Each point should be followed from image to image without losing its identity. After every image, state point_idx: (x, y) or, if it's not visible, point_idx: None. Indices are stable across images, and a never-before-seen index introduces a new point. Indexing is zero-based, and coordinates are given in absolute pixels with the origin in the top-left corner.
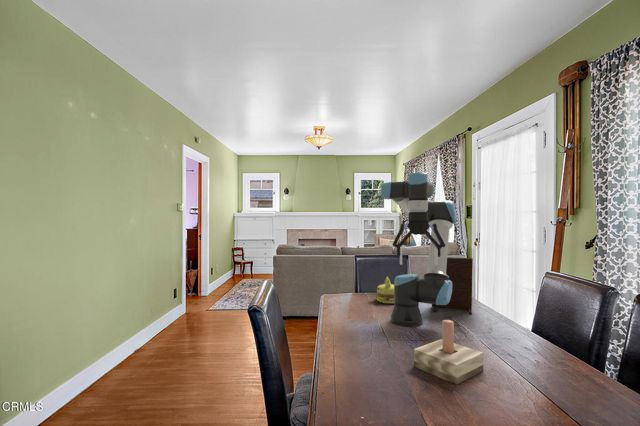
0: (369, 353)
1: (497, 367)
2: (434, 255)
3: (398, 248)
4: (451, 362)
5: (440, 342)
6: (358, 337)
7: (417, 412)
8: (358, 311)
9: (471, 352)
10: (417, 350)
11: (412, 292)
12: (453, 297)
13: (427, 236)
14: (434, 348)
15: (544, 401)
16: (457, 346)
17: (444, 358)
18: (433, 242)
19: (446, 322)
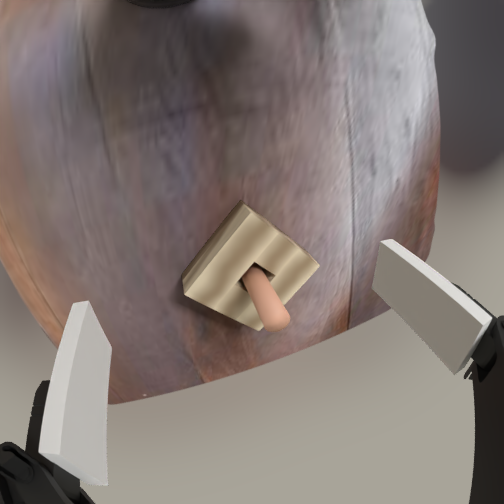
0: (82, 242)
1: (332, 228)
2: (432, 282)
3: (62, 474)
4: (252, 325)
5: (245, 236)
6: (33, 150)
7: (196, 376)
8: None
9: (299, 272)
10: (192, 298)
11: None
12: None
13: (484, 496)
14: (228, 277)
15: (342, 308)
16: (280, 249)
17: (242, 315)
18: (477, 424)
19: (271, 330)
